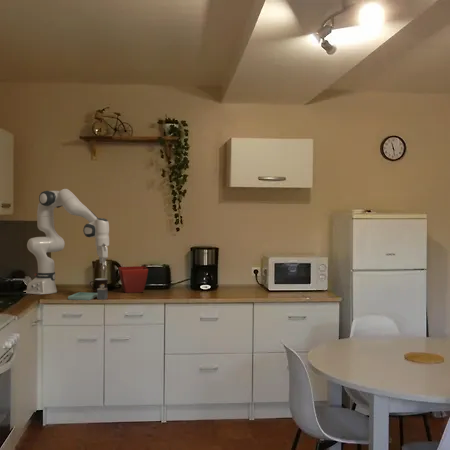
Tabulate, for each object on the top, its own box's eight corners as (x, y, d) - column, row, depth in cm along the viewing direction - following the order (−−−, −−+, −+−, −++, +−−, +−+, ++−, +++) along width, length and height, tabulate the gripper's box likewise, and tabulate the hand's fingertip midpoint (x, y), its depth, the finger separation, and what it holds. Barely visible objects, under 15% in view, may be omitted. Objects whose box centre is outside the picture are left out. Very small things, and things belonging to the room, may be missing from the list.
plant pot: (118, 289, 407) (118, 266, 406) (144, 288, 413) (144, 265, 412) (120, 294, 389) (120, 270, 388) (148, 293, 394) (148, 269, 393)
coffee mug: (109, 292, 395) (109, 278, 395) (105, 294, 386) (105, 280, 386) (93, 292, 396) (93, 277, 396) (89, 294, 388) (89, 279, 387)
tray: (68, 299, 367) (67, 296, 367) (78, 295, 384) (78, 292, 384) (89, 300, 365) (89, 297, 365) (99, 295, 381) (99, 293, 381)
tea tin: (97, 299, 369) (97, 288, 368) (100, 298, 374) (100, 287, 374) (104, 299, 368) (104, 289, 368) (107, 298, 373) (107, 287, 373)
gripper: (110, 244, 361) (110, 265, 361) (104, 241, 380) (104, 262, 380) (100, 244, 358) (100, 266, 359) (95, 241, 377) (95, 262, 378)
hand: (102, 263), depth 370 cm, fingers open, 8 cm apart
